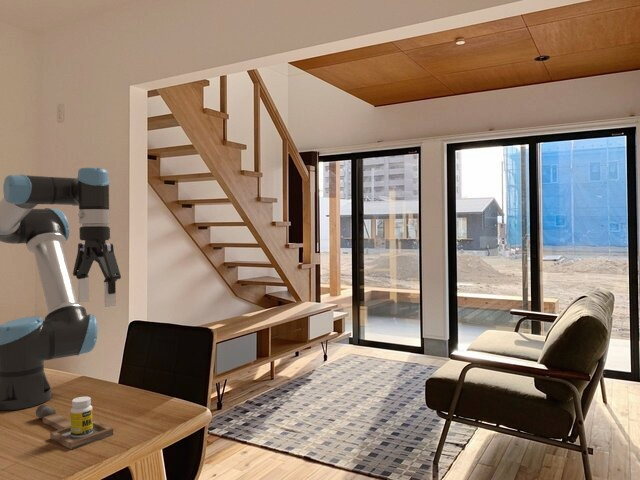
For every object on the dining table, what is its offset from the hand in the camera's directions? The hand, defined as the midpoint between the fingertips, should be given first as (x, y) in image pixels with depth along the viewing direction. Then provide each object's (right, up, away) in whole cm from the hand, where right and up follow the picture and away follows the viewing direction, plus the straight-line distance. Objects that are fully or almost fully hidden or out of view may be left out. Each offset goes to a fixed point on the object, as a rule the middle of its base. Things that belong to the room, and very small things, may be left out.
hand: (96, 304), depth 136 cm
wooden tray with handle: (-2, -29, -12) cm, 32 cm away
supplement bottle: (+4, -29, -17) cm, 34 cm away
